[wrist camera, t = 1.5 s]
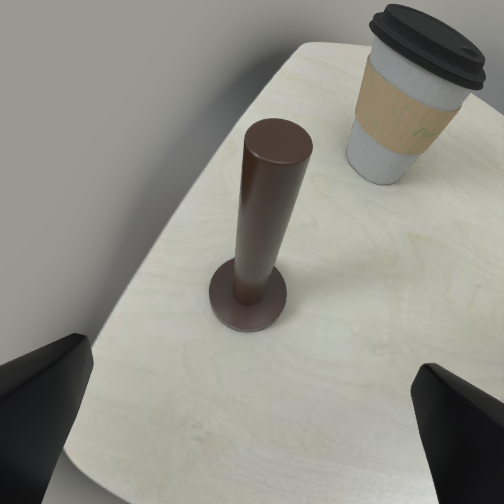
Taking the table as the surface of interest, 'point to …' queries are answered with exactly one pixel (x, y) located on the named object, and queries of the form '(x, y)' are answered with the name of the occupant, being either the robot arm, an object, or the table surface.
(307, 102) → the table surface
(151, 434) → the table surface
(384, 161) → the coffee cup
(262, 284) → the dark brown rod
